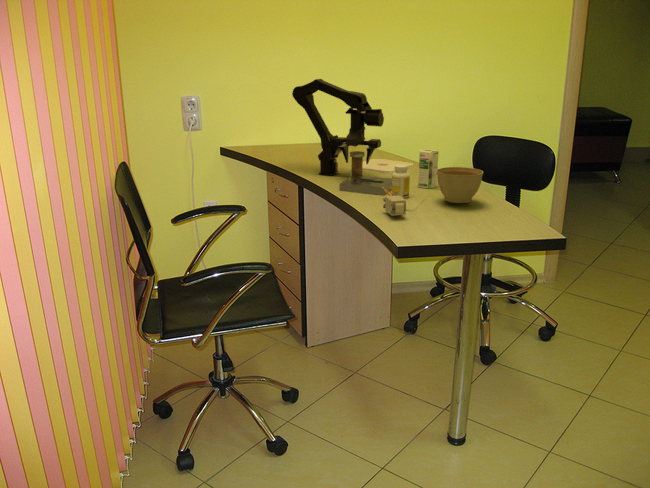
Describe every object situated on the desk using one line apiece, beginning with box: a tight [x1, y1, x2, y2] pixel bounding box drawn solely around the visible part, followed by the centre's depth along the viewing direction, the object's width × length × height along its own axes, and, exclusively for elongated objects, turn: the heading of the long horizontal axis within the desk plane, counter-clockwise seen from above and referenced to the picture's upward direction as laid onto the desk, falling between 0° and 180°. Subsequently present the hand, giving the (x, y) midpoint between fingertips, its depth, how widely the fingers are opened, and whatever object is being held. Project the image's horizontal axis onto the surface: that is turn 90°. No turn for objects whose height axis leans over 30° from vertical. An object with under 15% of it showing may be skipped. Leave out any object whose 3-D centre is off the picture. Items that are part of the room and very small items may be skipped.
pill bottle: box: [391, 165, 411, 199], centre depth 225 cm, size 6×6×12 cm
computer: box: [350, 158, 414, 175], centre depth 274 cm, size 22×22×3 cm
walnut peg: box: [349, 150, 365, 177], centre depth 252 cm, size 6×6×12 cm
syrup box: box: [417, 149, 440, 190], centre depth 240 cm, size 6×6×14 cm
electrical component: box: [382, 187, 407, 217], centre depth 213 cm, size 24×6×5 cm, turn 13°
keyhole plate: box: [338, 175, 392, 196], centre depth 239 cm, size 18×16×3 cm
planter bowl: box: [437, 166, 484, 204], centre depth 220 cm, size 16×16×11 cm
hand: (357, 163), depth 252 cm, fingers open, 8 cm apart
